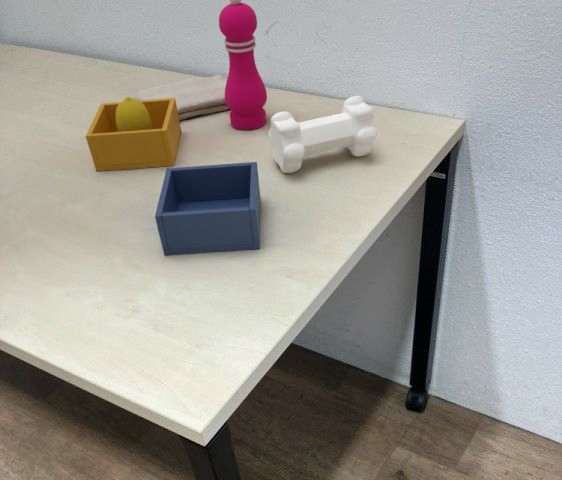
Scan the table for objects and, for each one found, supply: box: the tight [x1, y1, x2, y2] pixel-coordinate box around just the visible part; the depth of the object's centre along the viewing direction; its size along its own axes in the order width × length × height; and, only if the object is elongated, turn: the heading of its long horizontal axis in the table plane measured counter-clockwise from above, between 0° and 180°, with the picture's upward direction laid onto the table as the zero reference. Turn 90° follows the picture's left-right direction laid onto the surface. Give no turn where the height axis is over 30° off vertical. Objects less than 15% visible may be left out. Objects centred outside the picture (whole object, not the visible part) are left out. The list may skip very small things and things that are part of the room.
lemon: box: [116, 96, 152, 132], centre depth 98 cm, size 6×6×8 cm
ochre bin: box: [85, 98, 182, 172], centre depth 100 cm, size 13×13×6 cm
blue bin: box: [154, 161, 262, 256], centre depth 82 cm, size 13×13×6 cm
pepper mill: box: [218, 0, 268, 131], centre depth 100 cm, size 7×7×20 cm
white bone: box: [268, 95, 378, 174], centre depth 92 cm, size 15×9×8 cm, turn 109°
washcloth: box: [135, 74, 230, 121], centre depth 112 cm, size 12×18×3 cm, turn 113°
